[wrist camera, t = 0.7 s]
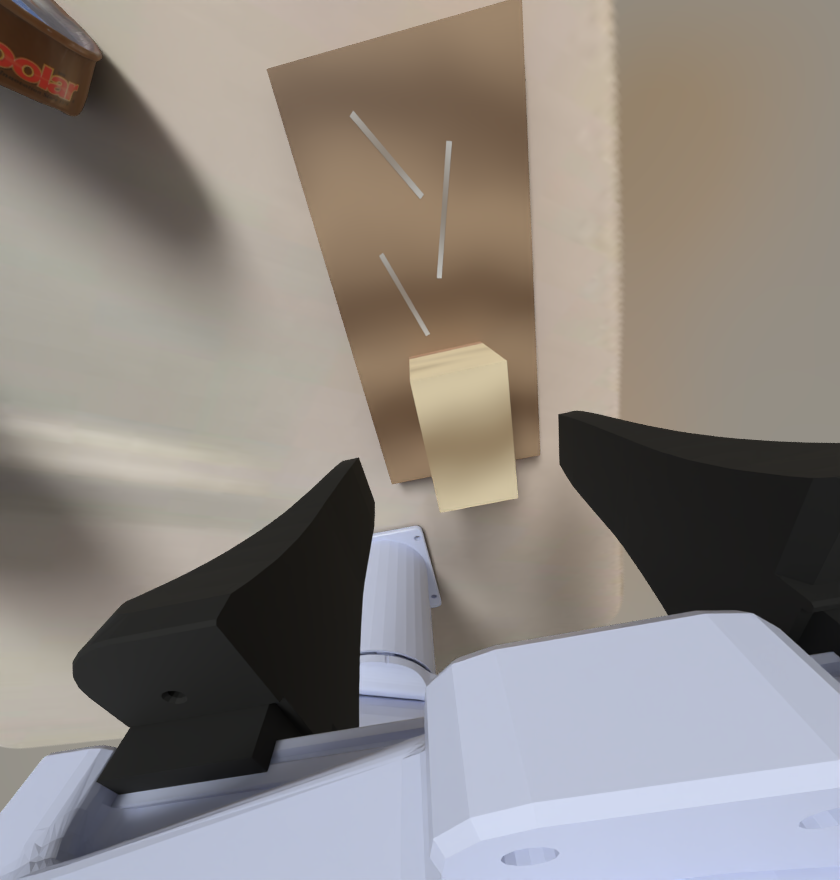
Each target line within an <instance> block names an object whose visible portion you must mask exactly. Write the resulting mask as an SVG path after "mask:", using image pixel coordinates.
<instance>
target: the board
mask: <svg viewBox="0 0 840 880" xmlns="http://www.w3.org/2000/svg"><path fill="white" fill-rule="evenodd" d="M267 72H268V75H269V78H270V82H271V85H272V88H273V92H274V95H275V98H276V102H277V105H278V108H279V111H280V115H281V118H282V121H283V125H284V128H285V131H286V135H287V138H288V141H289V145H290V148H291V151H292V155H293V158H294V161H295V164H296V168H297V171H298V174H299V178H300V181H301V184H302V188H303V191H304V194H305V198H306V201H307V204H308V208H309V211H310V214H311V217H312V221H313V224H314V227H315V231H316V234H317V237H318V241H319V244H320V247H321V251H322V254H323V257H324V261H325V264H326V267H327V270H328V274H329V277H330V280H331V284H332V287H333V290H334V294H335V297H336V300H337V304H338V307H339V310H340V314H341V317H342V320H343V323H344V327H345V330H346V333H347V337H348V340H349V343H350V347H351V350H352V353H353V357H354V360H355V363H356V367H357V370H358V373H359V377H360V380H361V383H362V386H363V390H364V393H365V396H366V400H367V403H368V406H369V410H370V413H371V416H372V420H373V423H374V426H375V430H376V433H377V436H378V439H379V443H380V446H381V449H382V453H383V456H384V459H385V463H386V466H387V469H388V473H389V476H390V479H391V483H392V484H396V483H401V482H406V481H411V480H416V479H421V478H426V477H431V476H432V475H431V471H430V467H429V462H428V458H427V454H426V449H425V445H424V441H423V436H422V432H421V427H420V423H419V419H418V414H417V410H416V406H415V401H414V397H413V393H412V388H411V384H410V365H409V357H412V356H417V355H421V354H426V353H430V352H435V351H439V350H444V349H448V348H453V347H457V346H462V345H466V344H471V343H475V342H480V341H481V342H482V343H483V344H485V345H486V346H487V347H489V348H490V349H492V350H493V351H494V352H496V353H497V354H498V355H500V356H501V357H503V358H504V359H505V360H507V369H508V381H509V393H510V405H511V417H512V429H513V442H514V454H515V460H518V459H523V458H528V457H533V456H538V455H540V439H539V414H538V389H537V364H536V339H535V314H534V289H533V264H532V239H531V214H530V189H529V165H528V140H527V115H526V90H525V65H524V40H523V15H522V0H507V1H504V2H500V3H497V4H493V5H490V6H486V7H483V8H479V9H476V10H472V11H469V12H465V13H462V14H458V15H455V16H451V17H448V18H444V19H441V20H437V21H434V22H430V23H427V24H423V25H420V26H416V27H413V28H409V29H406V30H402V31H399V32H395V33H391V34H388V35H384V36H381V37H377V38H374V39H370V40H367V41H363V42H360V43H356V44H353V45H349V46H346V47H342V48H339V49H335V50H332V51H328V52H325V53H321V54H318V55H314V56H311V57H307V58H304V59H300V60H297V61H293V62H290V63H286V64H283V65H279V66H276V67H272V68H269V69H267Z"/></svg>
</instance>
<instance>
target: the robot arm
mask: <svg viewBox="0 0 840 880" xmlns="http://www.w3.org/2000/svg"><path fill="white" fill-rule="evenodd" d="M558 419H559V460H560V466H561V467H562V469H563V471H564V473H565V474H566V476H567V478H568V479H569V481H570V482H571V484H572V485H573V487H574V488H575V489H576V490H577V492H578V493H579V494H580V495H581V496H582V498H583V499H584V500H585V501H586V502H587V504H588V505H589V506H590V507H591V508H592V509H593V511H594V512H595V513H596V514H597V515H598V516H599V518H600V519H601V520H602V521H603V522H604V523H605V525H606V526H607V527H608V528H609V529H610V530H611V532H612V533H613V534H614V535H615V536H616V538H617V539H618V540H619V542H620V543H621V544H622V545H623V547H624V548H625V550H626V551H627V553H628V554H629V556H630V557H631V559H632V560H633V561H634V563H635V564H636V566H637V567H638V569H639V570H640V572H641V573H642V575H643V576H644V578H645V579H646V581H647V582H648V584H649V585H650V587H651V589H652V590H653V592H654V593H655V595H656V596H657V598H658V600H659V601H660V603H661V604H662V606H663V608H664V609H665V611H666V612H667V614H668V616H663V617H656V618H650V619H645V620H639V621H633V622H627V623H621V624H615V625H610V626H604V627H598V628H592V629H586V630H581V631H575V632H569V633H563V634H557V635H552V636H546V637H540V638H534V639H528V640H523V641H517V642H511V643H505V644H499V645H494V646H491V647H488V648H485V649H482V650H479V651H476V652H473V653H470V654H467V655H464V656H461V657H458V658H456V659H455V660H454V661H452V662H451V663H450V664H449V665H448V666H447V667H446V668H445V669H444V670H442V671H441V672H440V673H439V674H438V675H436V672H435V658H434V644H433V631H432V617H431V608H434V607H438V606H440V605H441V597H440V594H439V590H438V586H437V582H436V579H435V575H434V571H433V568H432V564H431V560H430V557H429V553H428V549H427V545H426V542H425V538H424V534H423V531H422V528H421V527H420V526H411V527H406V528H400V529H395V530H390V531H385V532H379V533H374V534H373V531H374V518H375V502H374V499H373V496H372V493H371V490H370V488H369V485H368V482H367V479H366V476H365V474H364V471H363V468H362V465H361V462H360V460H359V458H355V459H350V460H345V461H342V462H341V463H339V464H338V465H337V466H336V467H335V468H334V469H332V470H331V471H330V472H329V473H328V474H327V475H326V476H325V477H324V478H323V479H322V480H321V481H320V482H319V483H318V484H316V485H315V486H314V487H313V488H312V489H311V490H310V491H309V492H308V493H307V494H306V495H304V496H303V497H302V498H301V499H300V500H299V501H298V502H296V503H295V504H294V505H293V506H292V507H291V508H289V509H288V510H287V511H286V512H285V513H283V514H282V515H281V516H279V517H278V518H277V519H275V520H274V521H273V522H271V523H270V524H269V525H267V526H266V527H264V528H263V529H262V530H260V531H259V532H257V533H256V534H254V535H252V536H251V537H249V538H248V539H246V540H245V541H243V542H241V543H240V544H238V545H237V546H235V547H233V548H232V549H230V550H229V551H227V552H225V553H224V554H222V555H220V556H218V557H216V558H215V559H213V560H211V561H209V562H208V563H206V564H204V565H202V566H200V567H198V568H196V569H194V570H192V571H190V572H189V573H187V574H185V575H183V576H181V577H179V578H177V579H174V580H172V581H170V582H168V583H166V584H164V585H161V586H159V587H157V588H155V589H153V590H151V591H149V592H146V593H144V594H142V595H140V596H138V597H136V598H133V599H131V600H129V601H126V602H125V603H124V604H122V605H121V606H120V607H119V608H118V609H117V610H116V612H115V613H114V614H113V615H112V616H111V617H110V618H109V619H108V620H107V621H106V623H105V624H104V625H103V626H102V627H101V628H100V629H99V630H98V631H97V633H96V634H95V635H94V636H93V637H92V638H91V639H90V640H89V641H88V642H87V644H86V645H85V646H84V647H83V648H82V649H81V650H80V651H79V652H78V654H77V656H76V657H75V659H74V661H73V678H74V680H75V682H76V683H77V685H78V687H79V688H80V689H81V690H82V691H83V692H84V693H85V694H86V695H87V696H88V697H89V698H90V699H92V700H93V701H94V702H96V703H97V704H98V705H100V706H101V707H102V708H104V709H105V710H107V711H108V712H109V713H111V714H112V715H113V716H115V717H116V718H117V719H119V720H120V721H121V722H123V723H124V724H125V725H127V726H128V727H130V729H129V730H128V732H127V734H126V735H125V737H124V738H123V740H122V742H121V743H120V745H119V746H118V748H115V747H111V746H105V745H104V746H103V745H102V746H91V747H85V748H79V749H73V750H67V751H61V752H55V753H51V754H49V755H47V756H45V757H44V758H43V759H42V760H41V761H40V763H39V764H38V765H37V767H36V768H35V769H34V770H33V772H32V773H31V774H30V776H29V777H28V778H27V779H26V781H25V782H24V783H23V785H22V786H21V787H20V788H19V790H18V791H17V792H16V794H15V795H14V796H13V798H12V799H11V800H10V802H9V803H8V804H7V805H6V807H5V808H4V809H3V810H2V812H1V813H0V880H840V443H802V442H801V443H800V442H778V441H762V440H748V439H735V438H724V437H715V436H708V435H700V434H692V433H686V432H678V431H673V430H668V429H663V428H657V427H652V426H647V425H643V424H638V423H633V422H629V421H624V420H620V419H616V418H612V417H608V416H603V415H599V414H594V413H590V412H584V411H572V412H568V413H563V414H558ZM415 536H420V537H415Z"/></svg>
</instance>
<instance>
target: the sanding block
mask: <svg viewBox="0 0 840 880" xmlns="http://www.w3.org/2000/svg"><path fill="white" fill-rule="evenodd" d="M409 365H410V384H411V388H412V393H413V397H414V401H415V406H416V410H417V414H418V419H419V423H420V427H421V432H422V436H423V441H424V445H425V449H426V454H427V458H428V462H429V467H430V471H431V475H432V480H433V484H434V489H435V493H436V497H437V502H438V506H439V510H440V513H442V512H448V511H453V510H458V509H463V508H469V507H474V506H479V505H484V504H490V503H495V502H500V501H505V500H511V499H516V498H518V490H517V478H516V466H515V454H514V442H513V429H512V417H511V405H510V393H509V381H508V369H507V360H505V359H504V358H503V357H501V356H500V355H498V354H497V353H496V352H494V351H493V350H492V349H490V348H489V347H487V346H486V345H485V344H483V343H482V342H481V341H480V342H475V343H471V344H466V345H462V346H457V347H453V348H448V349H444V350H439V351H435V352H430V353H426V354H421V355H417V356H412V357H409Z"/></svg>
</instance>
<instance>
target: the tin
mask: <svg viewBox="0 0 840 880" xmlns="http://www.w3.org/2000/svg"><path fill="white" fill-rule="evenodd" d="M101 58H102V53H101V51H100V49H99V47H98V46H97V44H96V43H95V42H94V40H93V39H92V38H91V37H90V36H89V35H88V34H87V33H86V32H85V30H84V29H83V28H82V27H81V26H80V25H79V24H78V23H77V22H76V21H75V20H74V19H72V18H71V17H70V16H69V15H68V14H67V13H66V12H65V11H64V10H63V9H62V8H61V7H60V6H59V5H58V4H57V3H56V2H55V1H54V0H0V85H2V86H4V87H6V88H9V89H11V90H13V91H15V92H17V93H20V94H22V95H24V96H26V97H29V98H31V99H33V100H35V101H38V102H40V103H42V104H45V105H48V106H50V107H53V108H56V109H58V110H60V111H62V112H63V113H65V114H67V115H70V116H77V115H78V114H80V112H81V111H82V109H83V107H84V104H85V101H86V99H87V95H88V91H89V88H90V84H91V80H92V76H93V72H94V68H95V64H96V62H97V61H99V60H101Z"/></svg>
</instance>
